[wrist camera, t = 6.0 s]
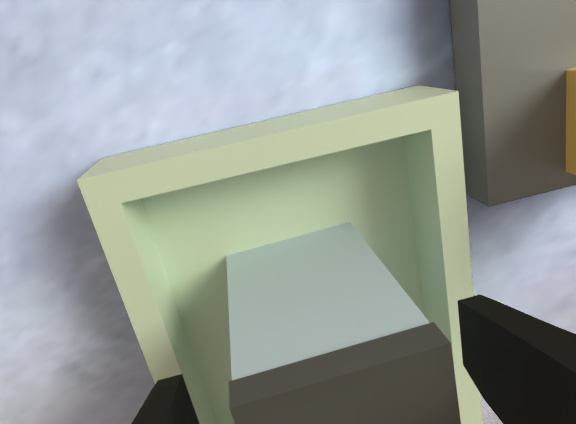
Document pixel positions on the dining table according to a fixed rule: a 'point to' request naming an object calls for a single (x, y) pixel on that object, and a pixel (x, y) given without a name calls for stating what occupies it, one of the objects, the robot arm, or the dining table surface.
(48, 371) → the dining table surface
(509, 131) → the block
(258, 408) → the grey-green rectangular block
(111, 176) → the parts tray
